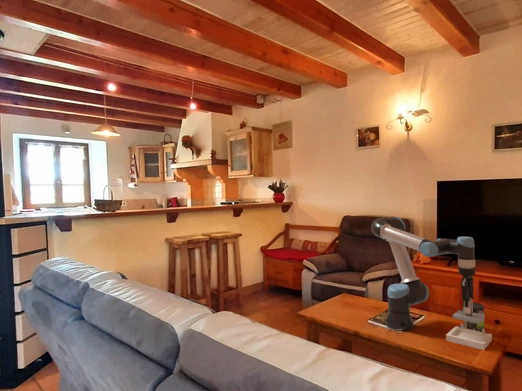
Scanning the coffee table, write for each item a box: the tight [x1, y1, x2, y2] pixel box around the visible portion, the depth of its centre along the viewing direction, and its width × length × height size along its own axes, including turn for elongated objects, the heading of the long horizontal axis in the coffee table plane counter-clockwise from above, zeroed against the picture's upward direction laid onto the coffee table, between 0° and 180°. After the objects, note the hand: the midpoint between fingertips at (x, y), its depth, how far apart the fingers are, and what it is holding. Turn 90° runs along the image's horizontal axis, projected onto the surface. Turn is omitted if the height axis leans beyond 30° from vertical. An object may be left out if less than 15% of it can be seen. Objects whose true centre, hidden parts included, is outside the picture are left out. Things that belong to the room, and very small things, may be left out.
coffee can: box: [462, 301, 486, 332], centre depth 193 cm, size 10×10×14 cm
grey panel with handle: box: [452, 297, 486, 324], centre depth 180 cm, size 12×10×11 cm
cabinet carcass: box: [445, 323, 493, 351], centre depth 180 cm, size 17×15×5 cm
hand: (468, 312), depth 180 cm, fingers closed on grey panel with handle, 3 cm apart
